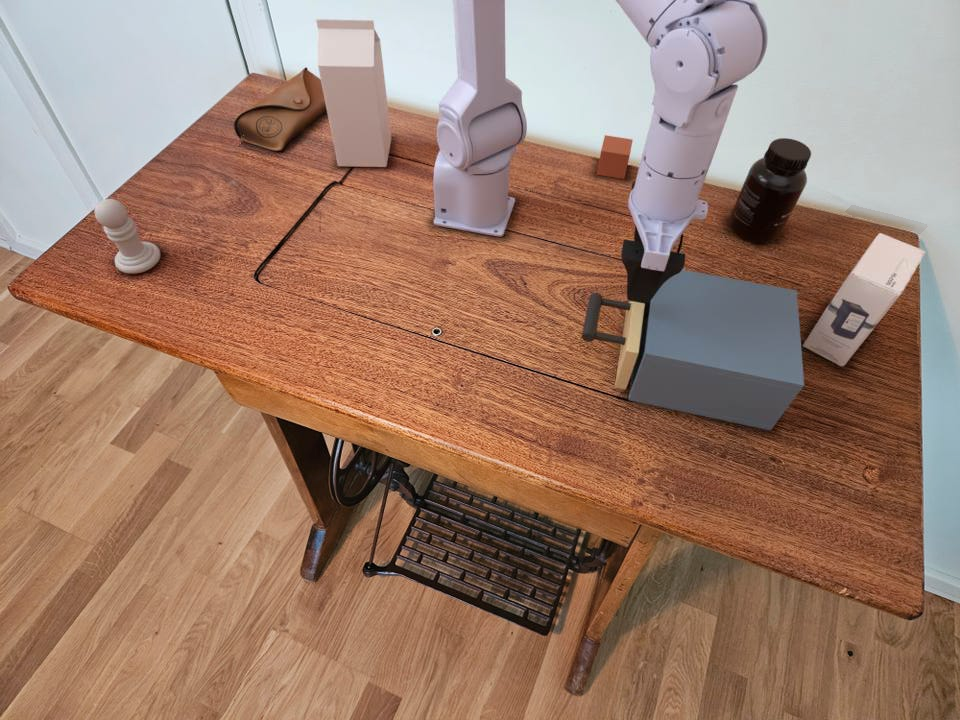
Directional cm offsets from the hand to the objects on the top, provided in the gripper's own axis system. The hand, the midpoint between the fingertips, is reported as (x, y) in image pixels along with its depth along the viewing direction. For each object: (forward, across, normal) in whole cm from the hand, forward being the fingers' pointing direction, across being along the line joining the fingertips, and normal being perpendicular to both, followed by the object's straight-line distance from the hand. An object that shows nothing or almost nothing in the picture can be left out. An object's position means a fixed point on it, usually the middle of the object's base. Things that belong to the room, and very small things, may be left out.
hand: (641, 273), depth 64 cm
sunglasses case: (+10, +32, +55) cm, 64 cm away
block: (+10, +31, +5) cm, 33 cm away
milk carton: (+10, +25, +41) cm, 49 cm away
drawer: (+9, -3, -4) cm, 10 cm away
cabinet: (+10, -3, -9) cm, 13 cm away
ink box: (+10, +6, -24) cm, 26 cm away
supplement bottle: (+10, +23, -15) cm, 29 cm away
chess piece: (+10, -3, +60) cm, 61 cm away
